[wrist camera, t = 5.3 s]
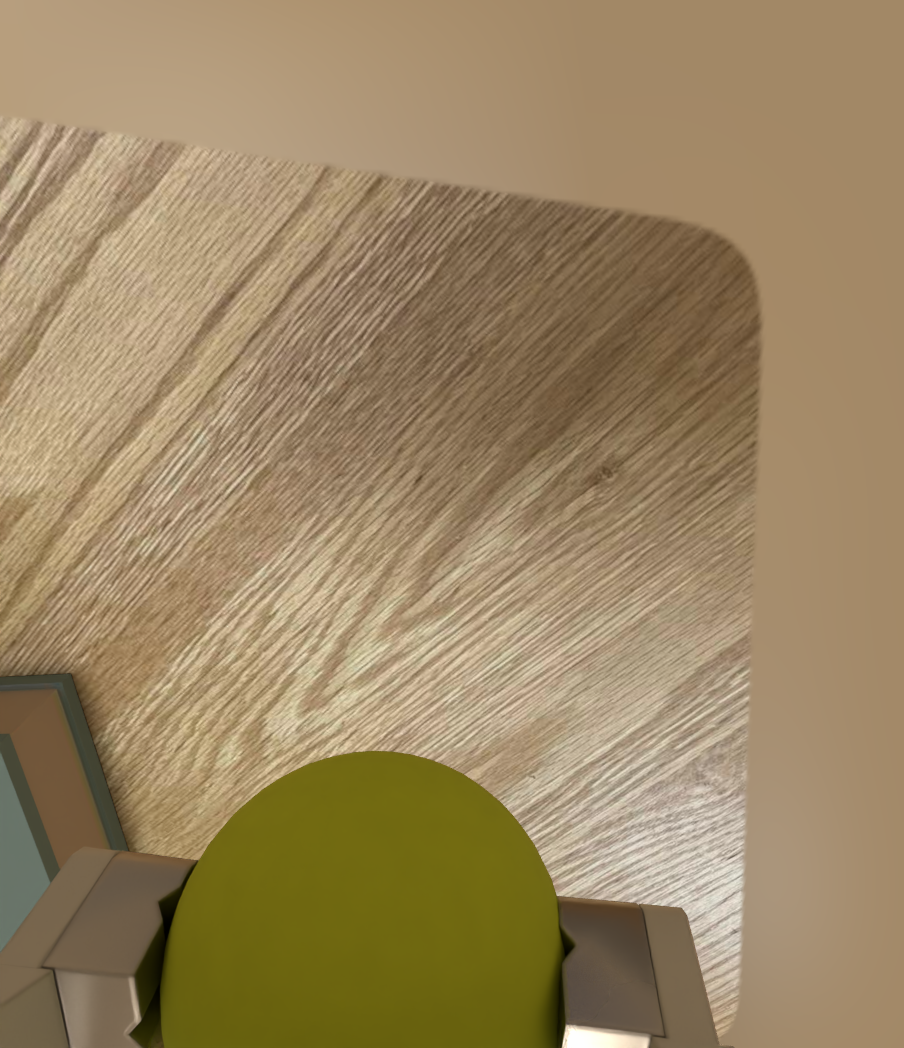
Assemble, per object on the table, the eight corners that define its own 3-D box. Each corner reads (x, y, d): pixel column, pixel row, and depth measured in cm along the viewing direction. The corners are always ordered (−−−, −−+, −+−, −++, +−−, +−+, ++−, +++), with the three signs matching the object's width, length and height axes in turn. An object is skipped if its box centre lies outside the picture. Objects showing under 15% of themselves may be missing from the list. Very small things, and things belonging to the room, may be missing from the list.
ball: (235, 664, 10) (31, 975, 6) (575, 693, 10) (616, 1042, 6) (252, 914, 12) (103, 1295, 8) (543, 945, 12) (557, 1360, 7)
